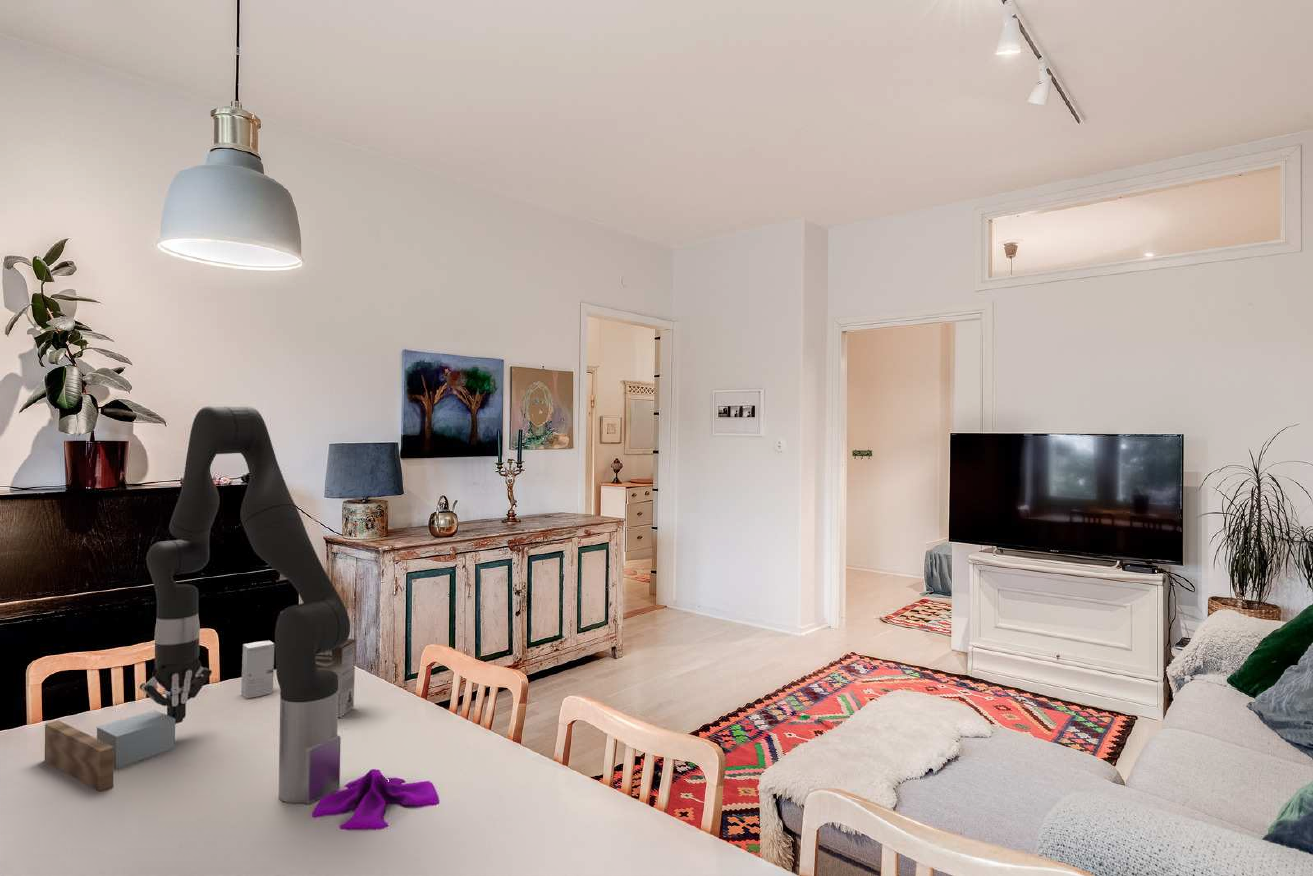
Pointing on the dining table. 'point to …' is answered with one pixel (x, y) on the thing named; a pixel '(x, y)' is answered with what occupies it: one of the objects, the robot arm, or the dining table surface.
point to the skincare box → (257, 669)
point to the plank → (79, 755)
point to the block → (139, 736)
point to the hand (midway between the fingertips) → (176, 722)
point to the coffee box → (341, 672)
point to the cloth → (374, 800)
